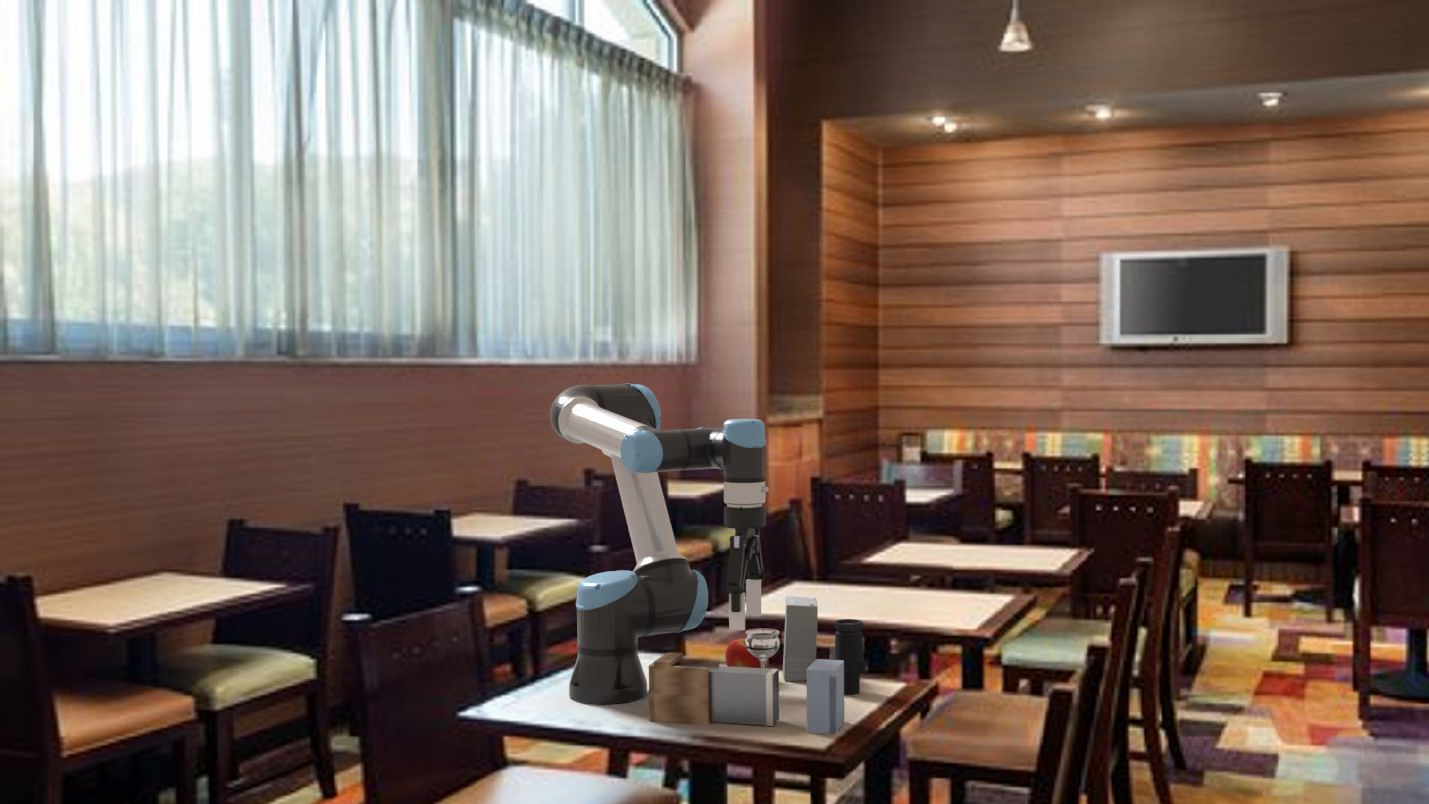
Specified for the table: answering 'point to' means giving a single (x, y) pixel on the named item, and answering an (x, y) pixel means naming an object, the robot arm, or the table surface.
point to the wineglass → (762, 643)
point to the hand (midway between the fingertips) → (745, 622)
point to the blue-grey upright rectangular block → (825, 696)
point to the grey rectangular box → (742, 694)
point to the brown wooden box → (679, 689)
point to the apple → (740, 655)
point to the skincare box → (799, 637)
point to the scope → (850, 653)
